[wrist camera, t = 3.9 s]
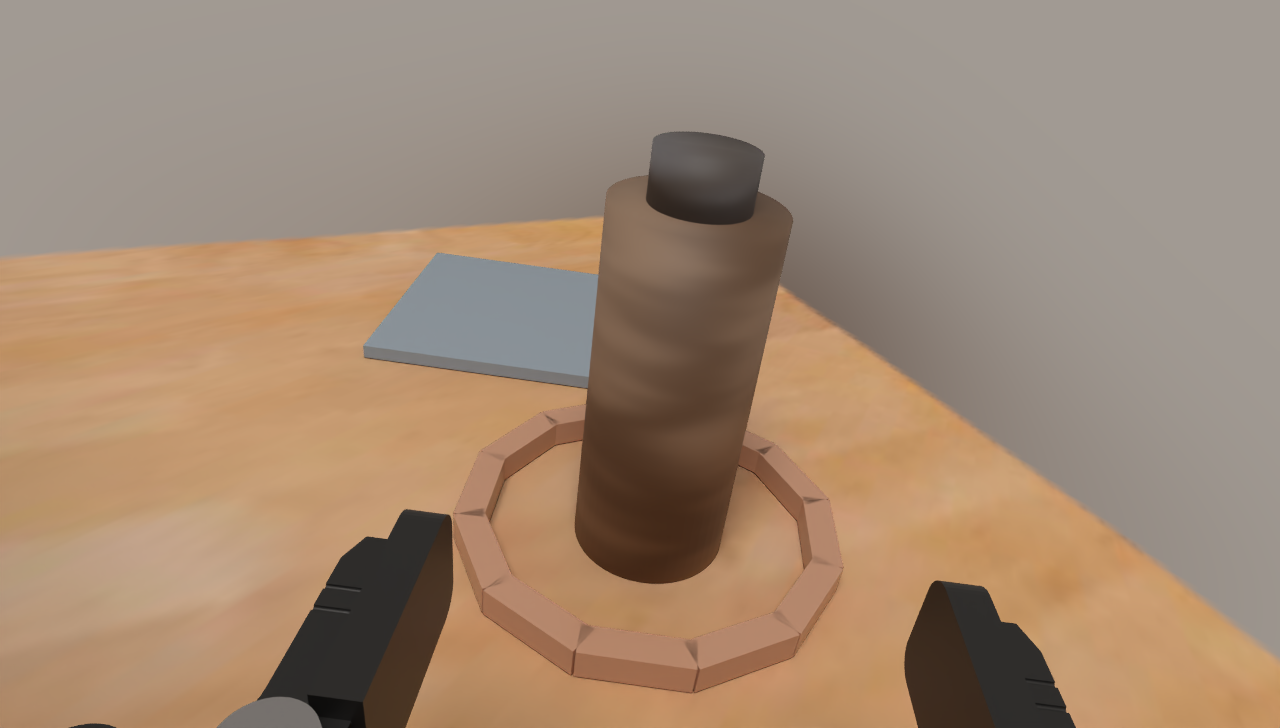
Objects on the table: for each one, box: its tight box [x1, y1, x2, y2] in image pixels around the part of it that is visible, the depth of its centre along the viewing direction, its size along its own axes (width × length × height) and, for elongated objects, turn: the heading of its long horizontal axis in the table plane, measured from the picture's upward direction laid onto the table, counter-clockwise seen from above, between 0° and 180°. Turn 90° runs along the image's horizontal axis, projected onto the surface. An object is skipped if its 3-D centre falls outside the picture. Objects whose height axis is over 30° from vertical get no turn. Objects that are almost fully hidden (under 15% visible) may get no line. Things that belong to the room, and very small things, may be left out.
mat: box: [363, 253, 598, 388], centre depth 40 cm, size 11×11×1 cm
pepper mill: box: [575, 132, 793, 583], centre depth 24 cm, size 5×5×14 cm
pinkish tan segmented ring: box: [453, 404, 843, 693], centre depth 27 cm, size 13×13×1 cm
